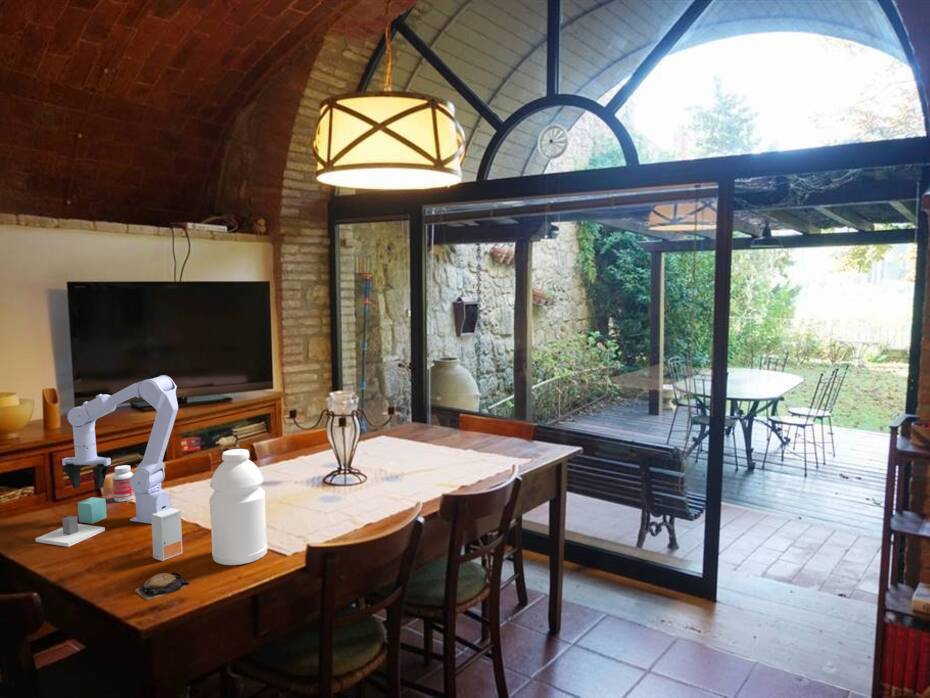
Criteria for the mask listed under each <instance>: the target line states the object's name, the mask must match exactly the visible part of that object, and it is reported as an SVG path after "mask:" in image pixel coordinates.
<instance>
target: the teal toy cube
mask: <svg viewBox="0 0 930 698" xmlns="http://www.w3.org/2000/svg"><path fill="white" fill-rule="evenodd" d="M106 505H107V503H106V498H101V497H93V496H92V497H89V498H87V499H83V500H81V501H79V502H77V512H78V514H77V515H78V522H79V523H85V524H95V523H97V522H99V521H102V520H105V519H106V518H107V506H106Z"/></svg>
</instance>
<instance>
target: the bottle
mask: <svg viewBox="0 0 930 698" xmlns="http://www.w3.org/2000/svg"><path fill="white" fill-rule="evenodd" d="M249 458H250V451H249V450H248V449H245V448H233V449H228V450H224V451H223V452H222V456H221V460H222V463H220V464H219V465H218V467H217V468H216V469H215V471H214V472H213V474H212V477H211V480H210V483H209V487H210V488H211V489H212V490H213V493H211V495H210V496H209V503H208V504H209V512H210V513H209V514H210V531H211V534H210V535H211V546H212V547H211V549H212V550H211V554H212V559H213V561H214V562H216V563H217V564H220V565H224V566H237V565H238V566H239V565H245V564H250V563H252V562H255V561H259V560H260V559H261V558H263V557H264V556H266V554H267V553H268V541H267V540H268V538H267V536H268V535H267V514H266V491H265V490H264V489H263V488H262V487H261V485H262V484H263V483H264V476H263V474H262V472H261V470H260V469H259V467H258V466H257V464H255V462H253V460H252V461H251V460H250V459H249Z"/></svg>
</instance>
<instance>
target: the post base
mask: <svg viewBox="0 0 930 698" xmlns="http://www.w3.org/2000/svg"><path fill="white" fill-rule="evenodd" d="M61 520H62V521H61V522H62V527H59V528H58V529H56V530H53V531H50V532H48V533H45V534H42V535H41V536H38V537H35V539H34V540H35V543H41V544H46V545H47V544H48V545H55V546H60V547H66V548H67V547H68V548H69V547H71V546H73V545H77V544H78V543H80V542H83V541H85V540H88V539H90V538H91V537H94V536H97V535H99V534H102V532H105V531H106V528H105V527H104V526H95V525H89V524H82V523H78V522H79V521H78V516H76V515H68V516H65V517H63V518H61Z"/></svg>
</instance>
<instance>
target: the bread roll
mask: <svg viewBox="0 0 930 698" xmlns="http://www.w3.org/2000/svg"><path fill="white" fill-rule="evenodd" d="M189 585H191V582H190V581H187V579H186V578H184V577H183V576H182V575H181V574H179V573H177V572H175V571H173V572H171V573H168V572H167V573H166V572H163V573H157V574H155V575H153V576H151V577H150V578H149V579H147V580H146V581H144V582H143V583H142V584H141V585H140V587H138V588H136V589H135V590H134V593H135V592H136V593H137V594H138V595H139V596H141V598H143V599H145V600H146V601H150V600H153V599H156V598H160V597H163V596H165V595H169V594H171V593H174V592H177V591H179V590H181V589H184V588H187V587H188V586H189Z"/></svg>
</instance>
